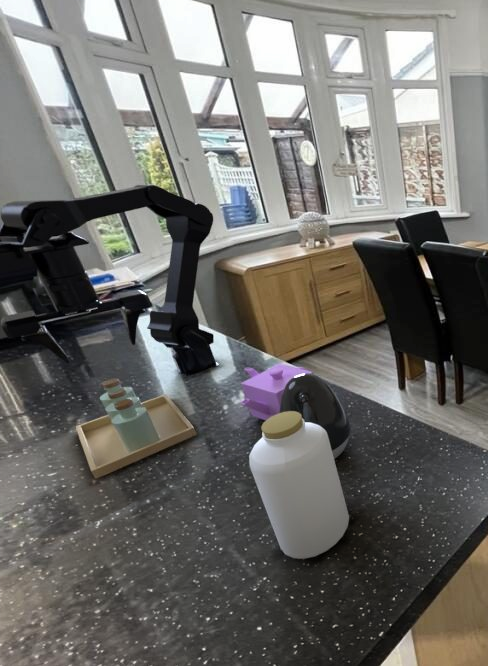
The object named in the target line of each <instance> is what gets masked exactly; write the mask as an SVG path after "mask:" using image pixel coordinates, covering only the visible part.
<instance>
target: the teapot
mask: <svg viewBox="0 0 488 666" xmlns="http://www.w3.org/2000/svg"><path fill="white" fill-rule="evenodd" d="M243 370H244V371H246V373H247V374H248V375H249V376H250V378H248V379H247V380H245V381H243V382H241V383H240V386H241V388H242V391H243V394H244V397H245V398H244V399H243V400H242V401H241V402H240V405H242V406H244V407H246V408H249V411H250V414H251V416H252V417H254V418H257V419H260V420H264V421H266V420H267V419H269V418H270V417H272V416H274V415H276V414H279V410H280V401H281V396H282V393H283V390H284V388H285V386H286V384H287V382H288V381H289V380H290V379H291V378H293V377H294V376H296V375H299V374H303V373H310V374H314V375H315V373H314V372H313V371H310V370H307V368H305V367H302V366H297V367H295V366H291V365H286V364H284V363H283V364H282V363H278V364H275V365H274V366H272V367H269V368H268V369H266V370H264V371H262V372H260V373H259V372H258V371H257V370H255V368H253V367H249V366H247V367H244V368H243Z"/></svg>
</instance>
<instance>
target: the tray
mask: <svg viewBox="0 0 488 666" xmlns="http://www.w3.org/2000/svg"><path fill="white" fill-rule="evenodd" d="M141 404H142V406H143V408H146V409H147V412H148V414H149V416H150V418H151V420H152V422H153V424H154V426H155V428H156V430H157V432H158V435H159V437H160V439H161V440H160V441H157V442H155V443H153V444H150V445H148V446H145V447H143V448H141V449H138V450H136V451H134V452H131V453H129V454H128V452H127V450H126V448H125V447H124V445H123V443H122V441H121V439H120V437H119V435H118V433H117V431H116V430H115V428H114V426H113V424H112V422H111V420H110V418H109V416H108V414H107V415H104V416H100V417H98V418H96V419H93V420H90V421H87V422H84V423H81V424H79V425H76V426H75V429H76V432H77V435H78V438H79V441H80V444H81V446H82V449H83V452H84V455H85V457H86V462H87V463H88V466H89V468H90V471H91V473H92V475H93V477H94V478H95V479H99V478H101V477H103V476H106V475H109V474H110V473H112V472H114V471H117V470H119V469H122V468H124V467H127V466H128V465H131V464H133V463H135V462H138V461H139V460H142V459H145V458H147V457H149V456H152V455H153V454H156V453H158V452H160V451H163V450H165V449H167V448H169V447H172V446H174V445H176V444H179V443H181V442H183V441H186V440H188V439H190V438H193V437H195V436H197V435H198V433H197V432H196V429H195V427H194V426H193V425H192V423H191V422H190V421H189V420H188V418H187V417H186V416H185V414H183V412H182V411H181V410H180V409H179V407H178V406H177V405H176V403H175V402H174V401H173V400H172V398H170V397H169V395H168V394H167V393H164V394H162V395H159V396H157V397H153V398H150V399H148V400H144V401H143V402H141Z"/></svg>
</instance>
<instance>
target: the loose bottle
mask: <svg viewBox="0 0 488 666" xmlns="http://www.w3.org/2000/svg"><path fill="white" fill-rule="evenodd" d="M133 404H134V403H133V401H132V399H125V400H121V401H119V402H117V403H115V404H114V407H115V409H116V410H117V411H118V413H119V414H118V415H116V416H115V417H114V418H113V419H112V421H111V422H112V424H113V426H114V428H115V430H116V431H117V433H118V435H119V437H120V439H121V441H122V443H123V445H124V447H125V448H126V450H127V452H128V454H129V453H131V452H134V451H136V450H138V449H141V448H143V447H145V446H148V445H150V444H153V443H155V442H157V441H160V440H161V439H160V437H159V435H158V432H157V430H156V428H155V426H154V424H153V422H152V420H151V418H150V416H149V414H148V412H147V409H146V408H142V407H140V408H135V407H134V405H133Z"/></svg>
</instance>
